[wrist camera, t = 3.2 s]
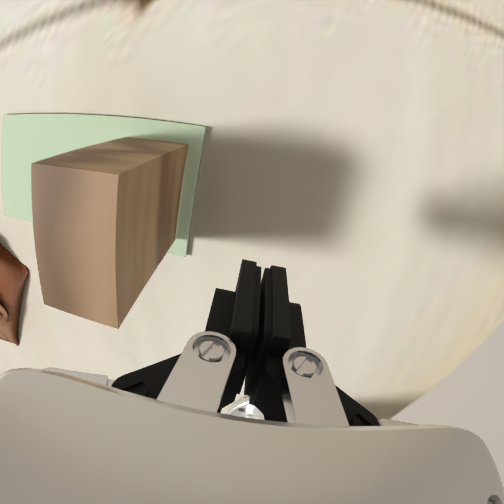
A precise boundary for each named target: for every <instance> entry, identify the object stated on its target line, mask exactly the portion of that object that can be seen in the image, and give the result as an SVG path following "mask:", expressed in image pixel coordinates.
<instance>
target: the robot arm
mask: <svg viewBox="0 0 504 504" xmlns="http://www.w3.org/2000/svg"><path fill="white" fill-rule="evenodd" d="M244 379H245V388H244V395H248V396H249V397H246V398H243V399H241V400H239V401H238V402H236V403H235V404H233V405H232V406H231V407H230V408H229V410H228V411H227V414H222V413H221V410H222V408H223V407H225V406H227V405H229V404H230V403H232V402H234V400H235V397H236V394H240V392H241V389H242V385H243V382H244ZM0 504H504V488H503V485H502V482H501V479H500V476H499V473H498V470H497V468H496V465H495V462H494V460H493V458H492V456H491V454H490V452H489V450H488V448H487V446H486V444H485V443H484V441H483V440H482V439H481V438H480V437H479V436H478V435H476V434H474V433H472V432H470V431H468V430H464V429H461V428H457V427H451V426H444V425H416V424H411V423H405V422H400V421H394V420H389V419H384V418H382V419H381V420H380V421H378V420H377V418H376V417H375V416H374V415H373V414H372V413H371V412H369V411H368V410H367V409H365V408H364V407H363V406H361V405H360V404H359V403H357V402H356V401H355V400H354V399H352V398H351V397H350V396H348V395H347V394H346V393H344V392H343V391H342V390H341V389H339V388H338V387H337V386H335V384H334V381H333V378H332V376H331V373H330V370H329V367H328V365H327V363H326V361H325V359H324V358H323V357H322V356H321V355H320V354H319V353H317V352H315V351H314V350H311V349H308V348H306V342H305V334H304V326H303V319H302V312H301V306H300V304H296V303H290V302H289V296H288V286H287V275H286V268H283V267H278V266H273V265H271V267H270V269H269V268H265V270H264V274H263V278H262V281H261V267H259V266H256V262H253V261H248V260H243V259H242V264H241V268H240V273H239V277H238V282H237V287H236V291H235V292H233V291H228V290H223V289H218V288H216V290H215V294H214V298H213V302H212V306H211V310H210V313H209V317H208V321H207V325H206V329H205V331H204V332H200V333H197V334H195V335H193V336H192V337H191V338H190V339H189V341H188V342H187V344H186V346H185V348H184V350H183V352H182V353H181V354H179V355H176V356H174V357H171V358H169V359H166V360H164V361H161V362H158V363H156V364H153V365H150V366H148V367H145V368H142V369H139V370H137V371H134V372H131V373H128V374H125V375H123V376H121V377H119V378H117V379H116V380H111V379H108V376H105V375H97V374H90V373H83V372H77V371H70V370H64V369H59V368H45V369H32V368H20V369H12V370H9V371H6V372H4V373H2V374H0Z"/></svg>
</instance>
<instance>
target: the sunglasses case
mask: <svg viewBox="0 0 504 504" xmlns="http://www.w3.org/2000/svg"><path fill="white" fill-rule="evenodd" d="M28 273H29V270H28V268H27V267H26V266H25V265H24V264H22V263H21V262H20V261H19V260H17V259H16V258H15V257H14V256H13V255H12V254H11V253H10V252H9V251H8V250H7V249H6V248H5V247H3V246H2V245H1V244H0V339H2V340H5V341H8V342H11V343H14V344H16V345H17V346H18V345H19V340H18V322H19V313H20V306H21V300H22V294H23V289H24V285H25V281H26V279H27V277H28Z"/></svg>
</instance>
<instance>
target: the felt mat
mask: <svg viewBox="0 0 504 504" xmlns="http://www.w3.org/2000/svg"><path fill="white" fill-rule="evenodd" d="M205 132H206V127H204V126H198V125H191V124H184V123H177V122H169V121H161V120H152V119H142V118H132V117H120V116H106V115H87V114H9V115H4V116H3V130H2V194H3V208H4V215H6V216H10V217H14V218H18V219H22V220H26V221H31V222H33V216H32V195H31V163H34V162H37V161H40V160H43V159H46V158H49V157H53V156H56V155H59V154H62V153H66V152H69V151H73V150H76V149H80V148H83V147H87V146H91V145H95V144H99V143H103V142H107V141H111V140H115V139H120V138H124V137H129V136H134V137H142V138H150V139H158V140H165V141H172V142H179V143H185V144H189V149H188V155H187V161H186V167H185V174H184V181H183V188H182V195H181V202H180V210H179V218H178V226H177V235H176V240H175V241H174V243H173V244H172V246H171V247H170V248H169V250H168V251H167V253H170V254H174V255H179V256H183V257H186V255H187V247H188V239H189V231H190V224H191V217H192V210H193V203H194V196H195V190H196V184H197V177H198V171H199V165H200V159H201V154H202V148H203V142H204V137H205Z"/></svg>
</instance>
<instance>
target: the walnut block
mask: <svg viewBox="0 0 504 504" xmlns="http://www.w3.org/2000/svg"><path fill="white" fill-rule="evenodd" d="M188 149H189V144H185V143H179V142H172V141H165V140H158V139H150V138H142V137H134V136H129V137H124V138H120V139H115V140H111V141H107V142H103V143H99V144H95V145H91V146H87V147H83V148H80V149H76V150H73V151H69V152H66V153H62V154H59V155H56V156H53V157H49V158H46V159H43V160H40V161H37V162H34V163H31V195H32V216H33V229H34V240H35V249H36V257H37V264H38V271H39V277H40V283H41V289H42V294H43V300H44V304H46V305H48V306H51V307H54V308H57V309H59V310H62V311H65V312H68V313H71V314H74V315H77V316H80V317H83V318H86V319H89V320H92V321H95V322H98V323H101V324H104V325H108V326H111V327H114V328H119V327H120V325H121V323H122V322H123V320H124V318H125V317H126V315H127V314H128V312H129V310H130V309H131V307H132V305H133V304H134V302H135V301H136V299H137V297H138V296H139V294H140V293H141V291H142V290H143V288H144V286H145V285H146V283H147V282H148V280H149V279H150V277H151V276H152V274H153V273H154V271H155V269H156V268H157V266H158V265H159V263H160V262H161V260H162V259H163V257H164V256H165V254H166V253H167V251H168V250H169V248H170V247H171V246H172V244H173V243H174V241H175V240H176V235H177V226H178V218H179V210H180V202H181V195H182V188H183V181H184V174H185V167H186V161H187V155H188Z"/></svg>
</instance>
